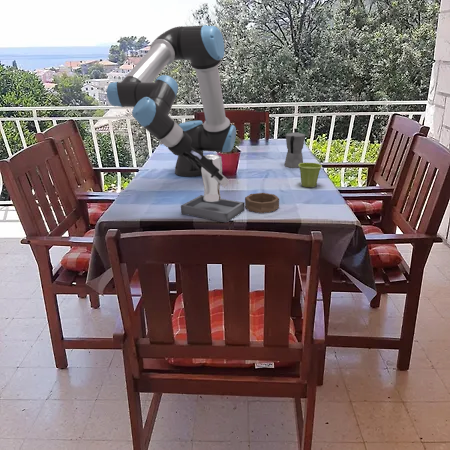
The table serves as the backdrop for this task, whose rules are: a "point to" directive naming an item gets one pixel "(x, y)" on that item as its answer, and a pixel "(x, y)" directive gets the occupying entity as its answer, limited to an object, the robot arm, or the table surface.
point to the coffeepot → (294, 149)
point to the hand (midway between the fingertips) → (220, 181)
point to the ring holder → (262, 202)
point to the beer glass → (211, 180)
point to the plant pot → (309, 174)
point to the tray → (213, 209)
